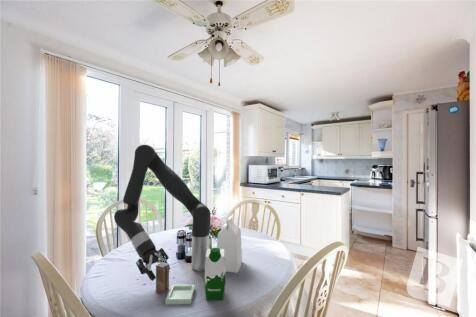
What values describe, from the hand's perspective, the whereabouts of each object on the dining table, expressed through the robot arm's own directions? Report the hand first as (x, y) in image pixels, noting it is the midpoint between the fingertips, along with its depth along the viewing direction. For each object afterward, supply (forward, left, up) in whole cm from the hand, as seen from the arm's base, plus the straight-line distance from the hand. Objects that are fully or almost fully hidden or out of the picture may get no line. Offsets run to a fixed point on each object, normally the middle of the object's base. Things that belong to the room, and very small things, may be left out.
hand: (161, 274), depth 95 cm
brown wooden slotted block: (0, 0, -7) cm, 7 cm away
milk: (-36, -5, -7) cm, 37 cm away
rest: (-6, +8, -7) cm, 13 cm away
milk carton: (-19, +14, -7) cm, 25 cm away
